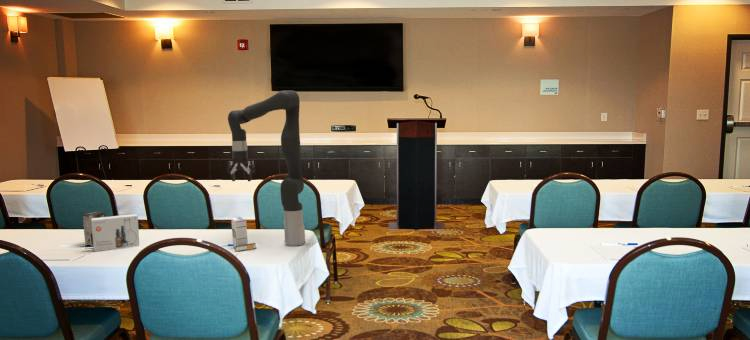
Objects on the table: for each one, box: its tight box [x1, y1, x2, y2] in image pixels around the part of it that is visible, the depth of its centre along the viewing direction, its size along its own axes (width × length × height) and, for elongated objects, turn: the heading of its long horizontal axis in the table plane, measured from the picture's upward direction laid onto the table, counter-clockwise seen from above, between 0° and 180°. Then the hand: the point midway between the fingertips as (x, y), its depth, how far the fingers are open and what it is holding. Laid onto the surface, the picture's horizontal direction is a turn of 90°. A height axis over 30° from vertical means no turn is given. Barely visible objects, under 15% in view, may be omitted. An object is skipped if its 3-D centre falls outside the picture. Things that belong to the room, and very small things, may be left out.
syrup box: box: [230, 216, 249, 249], centre depth 292 cm, size 6×6×14 cm
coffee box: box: [82, 211, 106, 247], centre depth 307 cm, size 9×6×16 cm
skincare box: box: [91, 213, 140, 252], centre depth 298 cm, size 21×5×16 cm, turn 117°
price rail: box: [234, 242, 257, 253], centre depth 287 cm, size 10×2×2 cm, turn 123°
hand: (241, 181), depth 307 cm, fingers open, 8 cm apart
